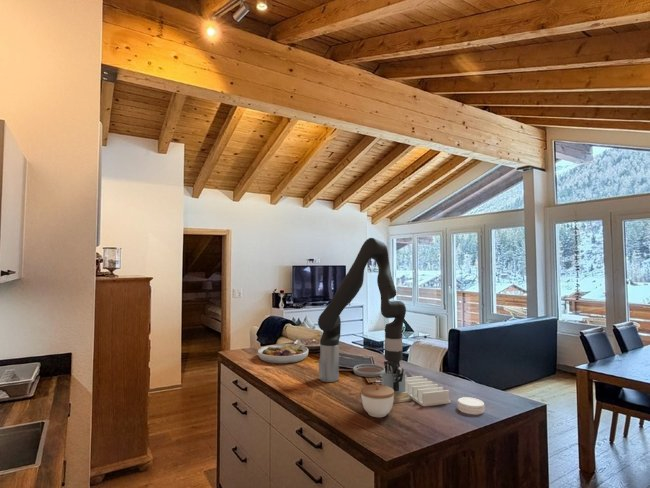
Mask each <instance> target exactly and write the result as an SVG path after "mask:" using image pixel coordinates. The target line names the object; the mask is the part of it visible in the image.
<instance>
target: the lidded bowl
mask: <svg viewBox="0 0 650 488" xmlns="http://www.w3.org/2000/svg"><path fill="white" fill-rule="evenodd" d="M360 393H361V394H360V397H361V403H362V407H363V409H364V410H365V412H366V413H368V415H369V416H370V417H374V418H384V417H387V415H388V413H390V411H392V408H393V405H394V403H393V400H394V390H393V389H392V388H391V387H388V386H385V385H382V384H379V383H376V384H366V385H363V386H362V387H361V388H360Z"/></svg>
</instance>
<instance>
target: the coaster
mask: <svg viewBox="0 0 650 488" xmlns="http://www.w3.org/2000/svg"><path fill="white" fill-rule="evenodd" d="M456 402H457V404H456V405H457V410H458V411H460V412H462V413H463V414H467V415H473V416H475V415H482V414H484V413H485V403H484V401H483V400H481V399H478V398H475V397H469V396H464V397H460V398H458V399H457V401H456Z"/></svg>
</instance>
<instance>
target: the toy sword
mask: <svg viewBox="0 0 650 488" xmlns="http://www.w3.org/2000/svg"><path fill="white" fill-rule="evenodd" d="M362 366H364V367H362ZM357 367H358V368H357ZM352 370H353V373H354V374H355V375H356V376H359V377H363V378H364V377H365V378H378V377H381V378H380V381H382V373H385V366H382V365H379V364H373V363H361V364H357V365H354V366H353V368H352Z"/></svg>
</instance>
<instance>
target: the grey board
mask: <svg viewBox="0 0 650 488" xmlns="http://www.w3.org/2000/svg"><path fill="white" fill-rule="evenodd" d="M394 374H396V373H394ZM405 377H406V372H405V371H404V372H403V378H402V382H399V391H394V393H401V392H405ZM381 378H382V380H381V385H385V386H388V387H391V388H392V389H393V382H394V381H393V376H392V374H391V372H389V373H385V372H384V373H382V377H381ZM395 379H396V376H395Z"/></svg>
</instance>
